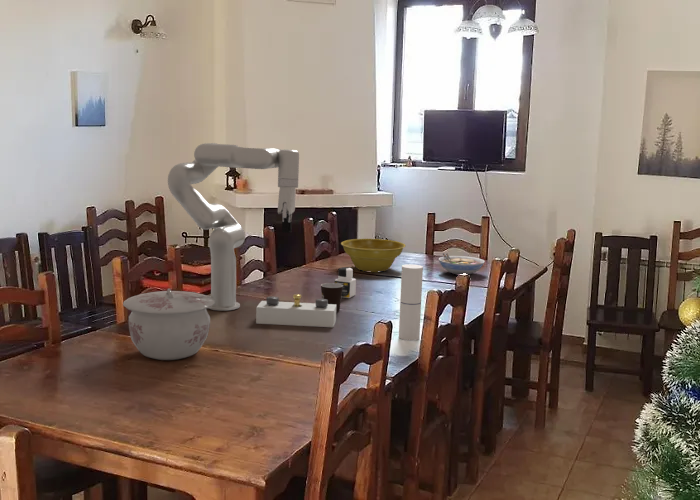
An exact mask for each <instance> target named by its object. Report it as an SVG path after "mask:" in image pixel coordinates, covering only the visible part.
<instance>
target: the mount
mask: <svg viewBox="0 0 700 500" xmlns="http://www.w3.org/2000/svg"><path fill="white" fill-rule="evenodd" d="M255 313H256V315H255V319H256V320H255V324H260V325H261V324H262V325H278V326H280V325H283V326H298V327H303V326H304V327H319V328H320V327H321V328H323V327H324V328H334V327H335V324H336V321H337V312H336V304H328V306H327V307H325V308H319V307H317V306H316V302H314V303H312V302H300V307H294V301H292V302H291V301H290V302H289V301H279V304H276V306H270V304H267V300H261V301H260V302H259V303H258V305H257V306H256V309H255Z"/></svg>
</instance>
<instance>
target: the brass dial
mask: <svg viewBox="0 0 700 500" xmlns="http://www.w3.org/2000/svg"><path fill="white" fill-rule="evenodd" d="M292 298H293V299H294V301H293V302H294V307H300V303H301V299H302V294H299V293H294V294H293V295H292Z"/></svg>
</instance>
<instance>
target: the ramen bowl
mask: <svg viewBox="0 0 700 500" xmlns="http://www.w3.org/2000/svg"><path fill="white" fill-rule="evenodd" d="M442 255H443V256H440V257H439V258H438V262H439V263H440V265H441V267H442V268H443V269H445V271H447V272H449V273H452V274H453V273H454V274H463V273H466V274H469V275H471V274H474V273H476V272H478V271H479V270H480V269H482V268H483V266H484V264H485V262H486V261H485V260H484V259H482V258H478V257H474V256H464V255H449V254H448V253H446V254H445V253H442ZM454 274H453V275H454Z"/></svg>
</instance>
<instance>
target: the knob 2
mask: <svg viewBox="0 0 700 500" xmlns="http://www.w3.org/2000/svg"><path fill="white" fill-rule="evenodd" d="M315 303H316V306H317V307H319V308H325V307H327V306H328V300H327V299H322V298H317V299H315Z"/></svg>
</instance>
